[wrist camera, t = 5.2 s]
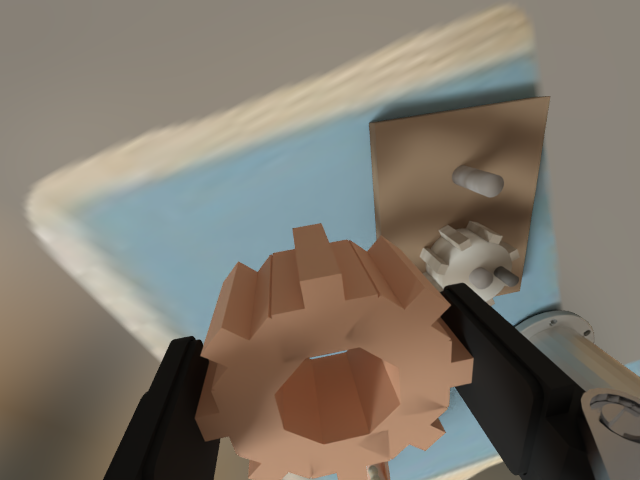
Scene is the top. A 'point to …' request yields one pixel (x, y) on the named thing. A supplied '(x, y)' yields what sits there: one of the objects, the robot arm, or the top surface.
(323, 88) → the top surface
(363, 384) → the terracotta gear
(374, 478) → the grandmother figurine
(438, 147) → the gear board
